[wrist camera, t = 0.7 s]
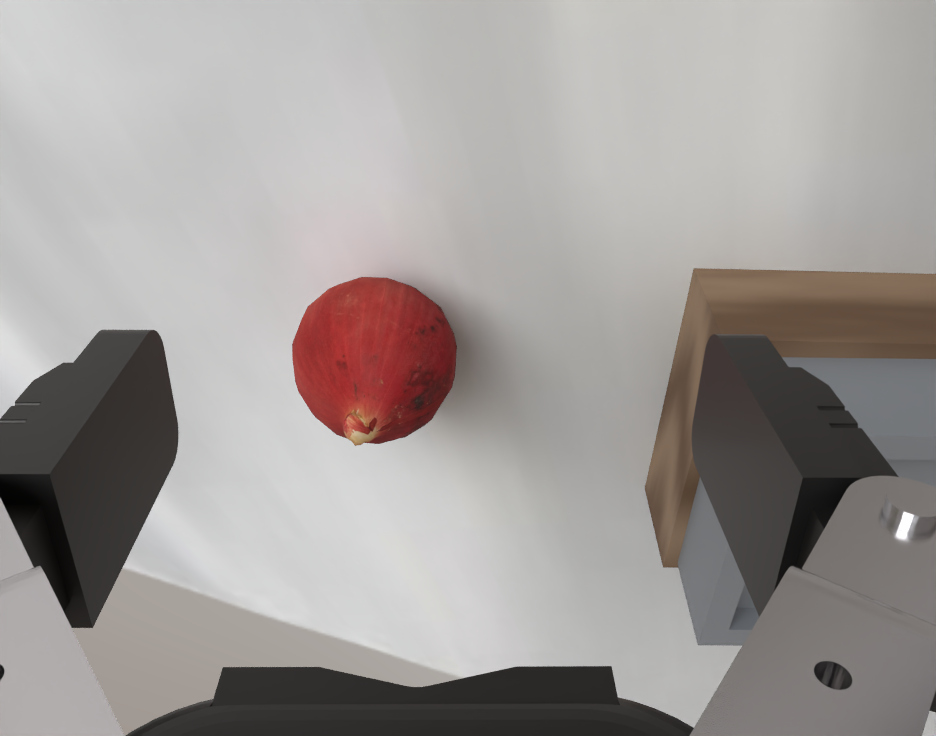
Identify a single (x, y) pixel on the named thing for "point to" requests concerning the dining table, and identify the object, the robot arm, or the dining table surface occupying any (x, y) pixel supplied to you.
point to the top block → (876, 411)
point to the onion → (374, 359)
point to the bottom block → (793, 335)
